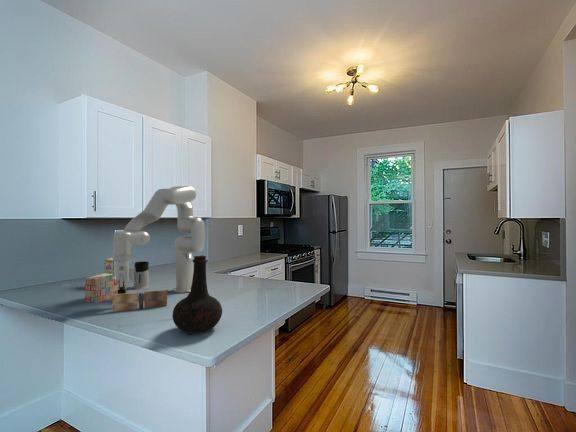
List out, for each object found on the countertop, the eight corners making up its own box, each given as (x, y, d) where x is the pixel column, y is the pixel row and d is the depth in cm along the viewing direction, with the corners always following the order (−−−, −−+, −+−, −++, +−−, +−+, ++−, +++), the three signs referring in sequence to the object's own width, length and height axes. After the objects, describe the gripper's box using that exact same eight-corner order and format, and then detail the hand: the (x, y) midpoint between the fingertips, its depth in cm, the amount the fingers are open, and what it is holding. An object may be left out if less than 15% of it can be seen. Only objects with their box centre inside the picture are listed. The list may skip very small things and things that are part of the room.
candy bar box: (103, 285, 187) (103, 258, 187) (111, 284, 191) (112, 258, 191) (113, 288, 181) (113, 260, 181) (121, 286, 185) (121, 259, 185)
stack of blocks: (117, 292, 172) (117, 270, 172) (126, 293, 171) (127, 270, 171) (84, 302, 151) (85, 277, 151) (95, 303, 150) (96, 278, 150)
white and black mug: (152, 286, 187) (152, 261, 187) (136, 291, 173) (136, 265, 173) (140, 285, 189) (140, 261, 189) (122, 290, 175) (123, 264, 175)
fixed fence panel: (166, 305, 145) (167, 289, 145) (167, 306, 143) (167, 290, 144) (138, 308, 140) (139, 292, 140) (138, 310, 138) (139, 292, 138)
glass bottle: (161, 334, 111) (162, 257, 111) (193, 319, 128) (194, 252, 128) (202, 342, 105) (204, 260, 105) (230, 325, 122) (231, 254, 122)
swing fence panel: (138, 308, 140) (138, 292, 140) (138, 309, 138) (138, 292, 138) (112, 311, 135) (112, 294, 135) (111, 312, 134) (112, 295, 134)
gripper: (131, 259, 137) (130, 301, 137) (131, 255, 150) (130, 293, 150) (111, 260, 133) (110, 302, 133) (114, 256, 147) (113, 295, 147)
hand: (121, 297), depth 142 cm, fingers closed
